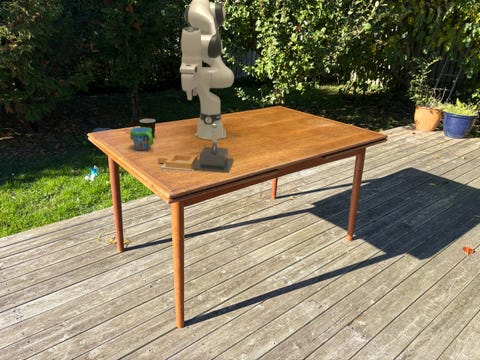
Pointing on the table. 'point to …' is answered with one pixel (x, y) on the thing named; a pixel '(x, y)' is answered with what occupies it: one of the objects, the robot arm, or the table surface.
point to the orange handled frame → (177, 164)
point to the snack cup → (141, 138)
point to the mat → (177, 168)
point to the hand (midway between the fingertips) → (192, 97)
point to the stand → (214, 156)
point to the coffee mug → (148, 125)
